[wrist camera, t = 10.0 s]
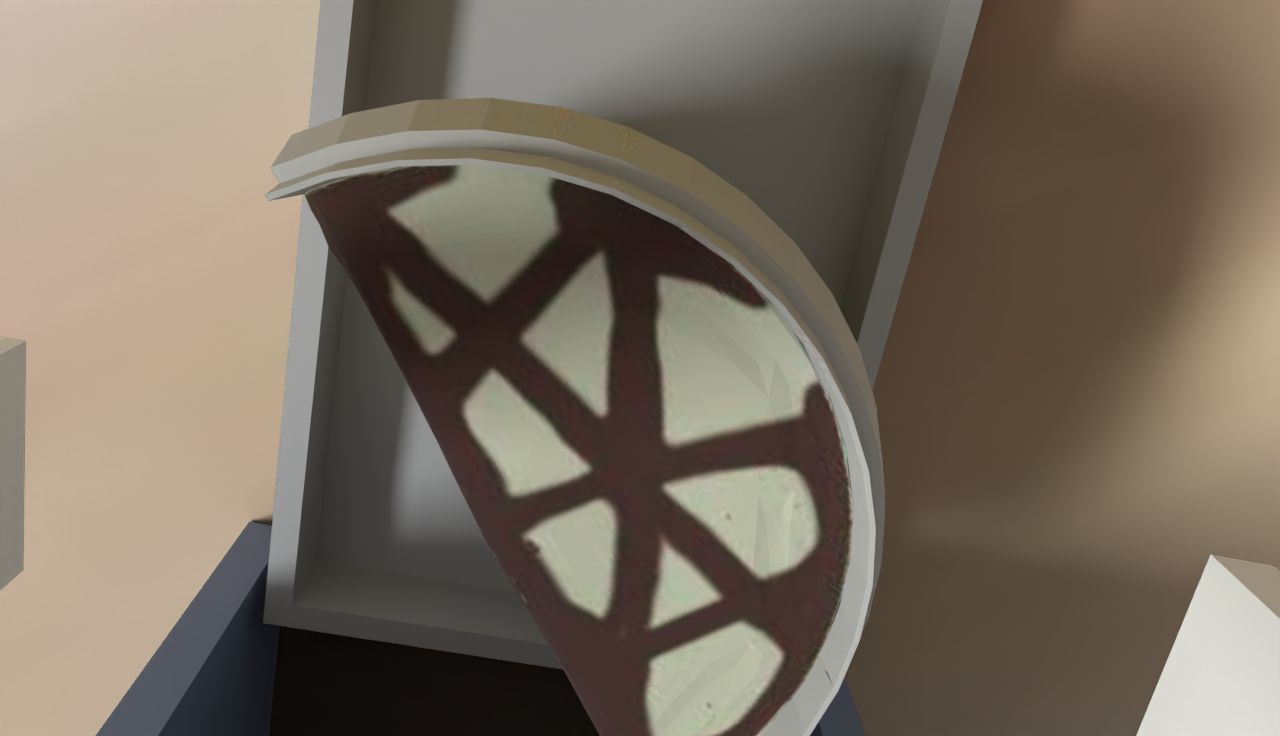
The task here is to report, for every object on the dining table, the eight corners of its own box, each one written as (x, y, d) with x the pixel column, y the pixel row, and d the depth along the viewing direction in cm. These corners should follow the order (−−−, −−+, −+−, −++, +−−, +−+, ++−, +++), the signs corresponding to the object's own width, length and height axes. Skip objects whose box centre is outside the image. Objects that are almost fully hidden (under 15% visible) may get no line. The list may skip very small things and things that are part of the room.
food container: (874, 471, 25) (1029, 751, 16) (639, 565, 26) (651, 887, 16) (671, -34, 21) (715, -68, 12) (402, 91, 22) (241, 154, 13)
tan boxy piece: (1019, -55, 22) (1722, -166, 8) (818, 640, 28) (1028, 1300, 14) (309, -210, 21) (-327, -660, 7) (244, 549, 27) (-183, 1168, 12)
